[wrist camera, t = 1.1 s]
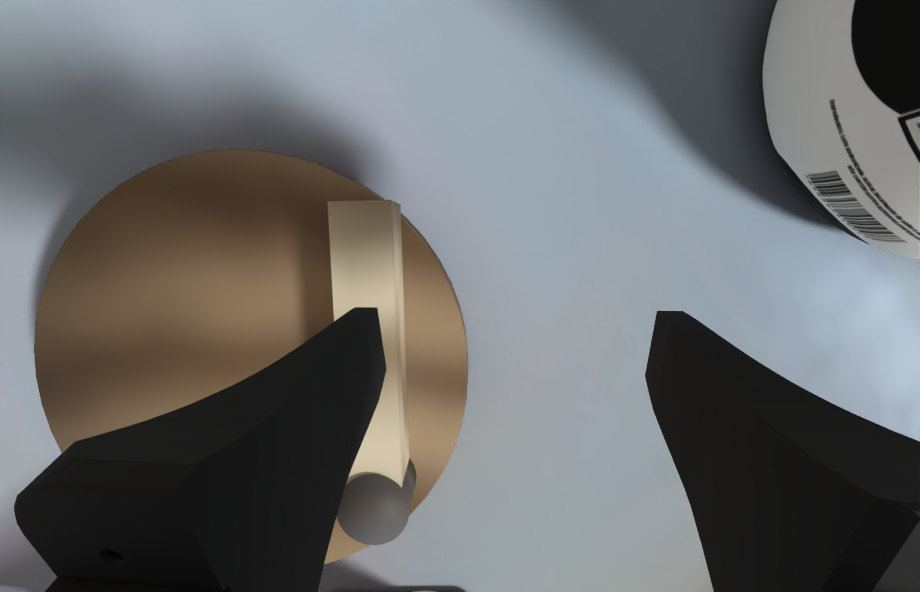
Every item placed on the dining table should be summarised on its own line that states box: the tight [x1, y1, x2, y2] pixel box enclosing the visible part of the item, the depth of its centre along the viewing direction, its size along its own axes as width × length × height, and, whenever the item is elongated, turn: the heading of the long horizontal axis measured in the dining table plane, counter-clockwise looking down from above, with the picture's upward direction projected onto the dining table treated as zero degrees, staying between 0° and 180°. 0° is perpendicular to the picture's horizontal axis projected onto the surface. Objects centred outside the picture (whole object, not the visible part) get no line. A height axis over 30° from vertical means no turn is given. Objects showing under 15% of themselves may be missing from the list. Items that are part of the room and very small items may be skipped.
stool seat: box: [34, 149, 468, 564], centre depth 22 cm, size 20×20×4 cm
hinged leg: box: [327, 200, 416, 545], centre depth 20 cm, size 14×3×3 cm, turn 1°
